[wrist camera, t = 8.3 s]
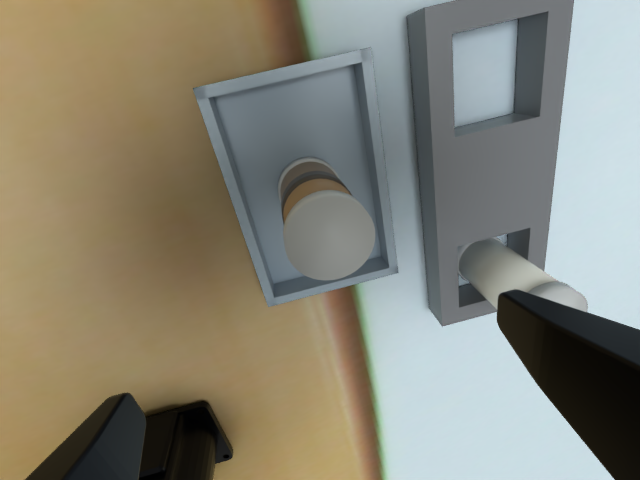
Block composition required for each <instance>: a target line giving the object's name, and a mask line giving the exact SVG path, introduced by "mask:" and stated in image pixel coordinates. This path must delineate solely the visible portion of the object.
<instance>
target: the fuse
mask: <svg viewBox="0 0 640 480" xmlns="http://www.w3.org/2000/svg"><path fill="white" fill-rule="evenodd" d="M458 274H459V275H460V276H461V277H462V278H463V279H464V280H466V281H468V282H469V283H470V284H471V285H472V286H473V287H474V288H475V289H476V290H477V291H478V292H479V293H480V294H482V295H483V296H484V297H485V298H486V299H487V300H488V301H489V302H490V303H491V304H492V305H493V306H494V307H495V308H496V309H497V304H498V296H499V294H500V293H502V292H506V291H509V290H513V289H518V290H521V291H524V292H527V293H530V294H533V295H536V296H539V297H542V298H545V299H548V300H551V301H554V302H557V303H560V304H563V305H566V306H569V307H572V308H575V309H578V310H581V311H584V312H587V309H588V304H587V300H586V298H585V297H584V296H583V295H582V294H581V293H579V292H578V291H576V290H575V289H573V288H572V287H570V286H569V285H567V284H565V283H563V282H559V281H558V280H556V279H555V278H553V277H552V276H550V275H549V274H547V273H546V272H544V271H543V270H541V269H540V268H538V267H537V266H535V265H534V264H532V263H531V262H529V261H528V260H526V259H525V258H523V257H522V256H520V255H519V254H517V253H516V252H515V251H513V250H512V249H510V248H509V247H507V246H506V245H504V243H503V242H502V241H501V240H500V239H498V238H497V237H493V238H489V239H485V240H481V241H477V242H473V243H470V244H466V245H462V246H458Z"/></svg>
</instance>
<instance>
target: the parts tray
mask: <svg viewBox="0 0 640 480" xmlns="http://www.w3.org/2000/svg"><path fill="white" fill-rule="evenodd" d="M193 91H194V93H195V96H196V99H197V102H198V105H199V108H200V111H201V114H202V117H203V120H204V122H205V125H206V128H207V131H208V134H209V137H210V140H211V143H212V146H213V148H214V151H215V154H216V157H217V160H218V163H219V166H220V169H221V172H222V175H223V177H224V180H225V183H226V186H227V189H228V192H229V195H230V198H231V201H232V204H233V206H234V209H235V212H236V215H237V218H238V221H239V224H240V227H241V230H242V232H243V235H244V238H245V241H246V244H247V247H248V250H249V253H250V256H251V259H252V261H253V264H254V267H255V270H256V273H257V276H258V279H259V282H260V285H261V288H262V290H263V293H264V296H265V299H266V302H267V305H268V307H270V306H274V305H278V304H282V303H285V302H289V301H293V300H297V299H301V298H304V297H308V296H312V295H316V294H320V293H323V292H327V291H331V290H335V289H339V288H342V287H346V286H350V285H354V284H358V283H361V282H365V281H369V280H373V279H377V278H380V277H384V276H388V275H392V274H396V273H398V266H397V258H396V249H395V241H394V233H393V225H392V216H391V208H390V200H389V191H388V183H387V175H386V166H385V158H384V150H383V141H382V133H381V125H380V117H379V108H378V100H377V92H376V83H375V75H374V67H373V58H372V50H371V47H369V48H365V49H360V50H356V51H352V52H347V53H343V54H339V55H334V56H330V57H326V58H321V59H317V60H313V61H309V62H304V63H300V64H296V65H291V66H287V67H283V68H278V69H274V70H270V71H265V72H261V73H257V74H252V75H248V76H244V77H239V78H235V79H231V80H226V81H222V82H218V83H213V84H209V85H205V86H200V87H196V88H193ZM302 157H317V158H320V159H322V160H324V161H326V162H327V163H329V164H330V165H331V166H332V168H333V169H334V170H335V171H336V173H337V174H338V176H339V178H340V180H341V181H342V182H343V183H344V185H345V186H346V187H347V189H348V190H349V191H350V193H351V194H352V196H353V197H354V198H355V199H357V200H358V201H359V202H360V203H361V205H362V206H363V207H364V208H365V210H366V211H367V212H368V214H369V215H370V217H371V219H372V221H373V223H374V227H375V243H374V247H373V250H372V252H371V254H370V256H369V258H368V259H367V261H366V262H365V263H364V264H363V265H362V266H361V267H360V268H359V269H358V270H356V271H355V272H353V273H352V274H350V275H348V276H346V277H343V278H340V279H335V280H317V279H313V278H310V277H307V276H305V275H303V274H302V273H300V272H299V271H298V270H297V269H296V268H295V267H294V266H293V265H292V264H291V263H290V261H289V259H288V257H287V254H286V251H285V246H284V237H283V229H284V224H283V219H282V211H281V202H280V200H279V194H278V181H279V178H280V175H281V173H282V171H283V170H284V168H285V167H286V166H287V165H288V164H289V163H291V162H292V161H294V160H296V159H298V158H302Z"/></svg>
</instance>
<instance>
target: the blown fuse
mask: <svg viewBox="0 0 640 480" xmlns="http://www.w3.org/2000/svg"><path fill="white" fill-rule="evenodd" d="M278 194H279V200H280V202H281V211H282V219H283V224H284V229H283V237H284V246H285V251H286V254H287V257H288V259H289V261H290V263H291V264H292V265H293V266H294V267H295V268H296V269H297V270H298V271H299V272H300V273H302V274H303V275H305V276H307V277H310V278H313V279H317V280H335V279H340V278H343V277H346V276H348V275H350V274H352V273H353V272H355V271H356V270H358V269H359V268H360V267H361V266H362V265H363V264H364V263H365V262H366V261H367V259H368V258H369V256H370V254H371V252H372V250H373V247H374V243H375V227H374V223H373V221H372V219H371V217H370V215H369V214H368V212H367V211H366V210H365V208H364V207H363V206H362V205H361V203H360V202H359V201H358V200H357V199H355V198H354V197H353V196H352V194H351V193H350V191H349V190H348V189H347V187H346V186H345V185H344V183H343V182H342V181H341V180H340V178H339V176H338V174H337V173H336V171H335V170H334V169H333V168H332V166H331V165H330V164H329V163H327V162H326V161H324V160H322V159H320V158H317V157H302V158H298V159H296V160H294V161H292V162H291V163H289V164H288V165H287V166H286V167H285V168H284V170H283V171H282V173H281V175H280V178H279V181H278Z"/></svg>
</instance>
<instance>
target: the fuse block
mask: <svg viewBox="0 0 640 480" xmlns="http://www.w3.org/2000/svg"><path fill="white" fill-rule="evenodd" d="M573 5H574V0H456V1H451V2H447V3H443V4H438V5H434V6H429V7H425V8H423V9H421V10H418V11H416V12H414V13H412V14H410V15H408V16H407V24H408V37H409V50H410V63H411V76H412V90H413V103H414V116H415V129H416V142H417V155H418V169H419V182H420V195H421V208H422V221H423V235H424V248H425V261H426V274H427V287H428V301H429V309H430V310H431V312H432V313H433V314H434V316H435V317H436V319H437V320H438V321H439V323H440V324H441V325H442V326H446V325H450V324H453V323H457V322H461V321H464V320H468V319H472V318H475V317H479V316H483V315H486V314H490V313H494V312H497V309H496V308H495V307H494V306H493V305H492V304H491V303H490V302H489V301H488V300H487V299H486V298H485V297H484V296H483V295H482V294H480V293H479V292H478V291H477V290H476V289H475V288H474V287H473V286H472V285H471V284H468V285H464V286H460V287H458V246H462V245H466V244H470V243H473V242H477V241H481V240H485V239H489V238H493V237H496V236H500V235H504V234H508V241H507V247H509V248H510V249H512V250H513V251H515V252H516V253H517V254H519V255H520V256H522V257H523V258H525V259H526V260H528V261H529V262H531V263H532V264H534V265H535V266H537V267H538V268H540V269H541V270H543V271H544V267H545V258H546V249H547V240H548V231H549V222H550V213H551V204H552V195H553V186H554V177H555V168H556V159H557V150H558V141H559V132H560V123H561V114H562V105H563V96H564V87H565V78H566V68H567V59H568V50H569V41H570V32H571V23H572V14H573ZM515 19H519V22H518V42H517V62H516V82H515V102H514V113H513V114H509V115H505V116H501V117H497V118H493V119H489V120H485V121H481V122H477V123H472V124H468V125H464V126H460V127H456V128H454V90H453V51H452V34H455V33H459V32H464V31H468V30H472V29H476V28H481V27H485V26H489V25H494V24H498V23H502V22H507V21H511V20H515Z"/></svg>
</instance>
